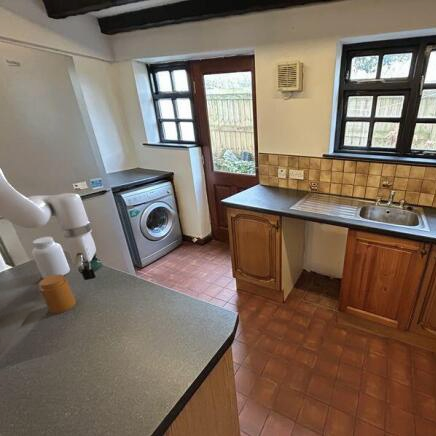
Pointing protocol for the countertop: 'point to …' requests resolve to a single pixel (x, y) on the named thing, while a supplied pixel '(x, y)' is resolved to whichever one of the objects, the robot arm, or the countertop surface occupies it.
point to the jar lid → (94, 265)
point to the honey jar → (57, 294)
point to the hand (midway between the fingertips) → (92, 272)
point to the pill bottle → (49, 257)
